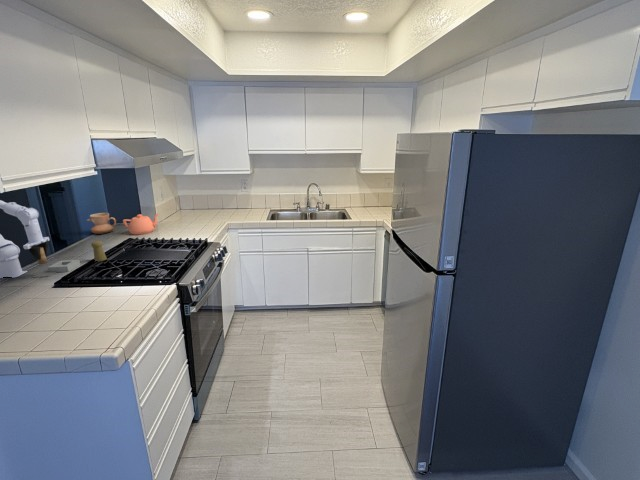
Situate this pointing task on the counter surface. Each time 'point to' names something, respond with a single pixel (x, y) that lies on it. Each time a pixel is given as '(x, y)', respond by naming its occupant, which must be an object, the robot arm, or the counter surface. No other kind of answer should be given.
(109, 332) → the counter surface
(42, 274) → the pad
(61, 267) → the socket
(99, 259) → the olive pepper mill
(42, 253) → the peg
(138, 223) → the teapot
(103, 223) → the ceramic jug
